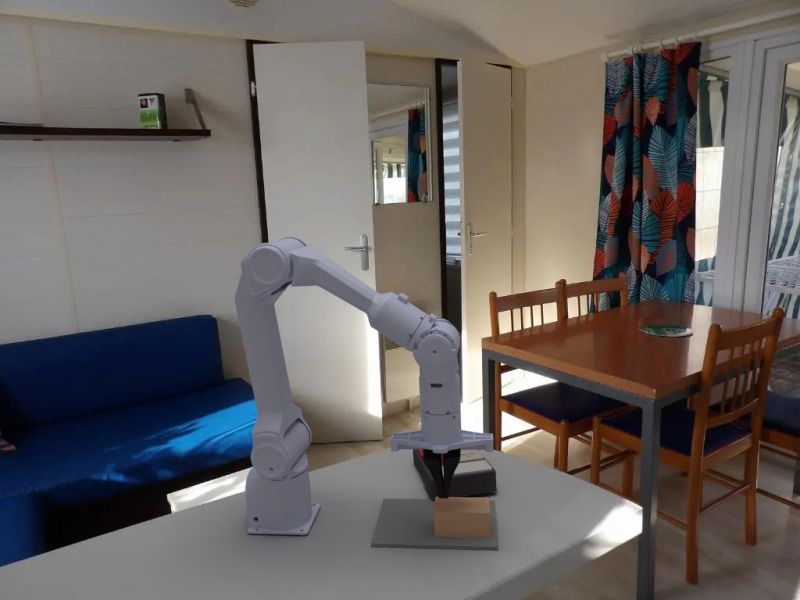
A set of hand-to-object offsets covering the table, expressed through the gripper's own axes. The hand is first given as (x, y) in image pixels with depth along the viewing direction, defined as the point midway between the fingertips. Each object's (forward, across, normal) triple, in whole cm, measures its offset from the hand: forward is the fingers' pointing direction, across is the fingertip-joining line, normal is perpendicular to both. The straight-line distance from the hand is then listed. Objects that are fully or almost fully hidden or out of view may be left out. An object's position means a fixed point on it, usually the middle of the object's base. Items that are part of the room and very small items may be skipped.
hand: (444, 494), depth 84 cm
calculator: (+6, 0, +16) cm, 17 cm away
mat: (+6, -2, +2) cm, 6 cm away
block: (+3, -1, 0) cm, 4 cm away
